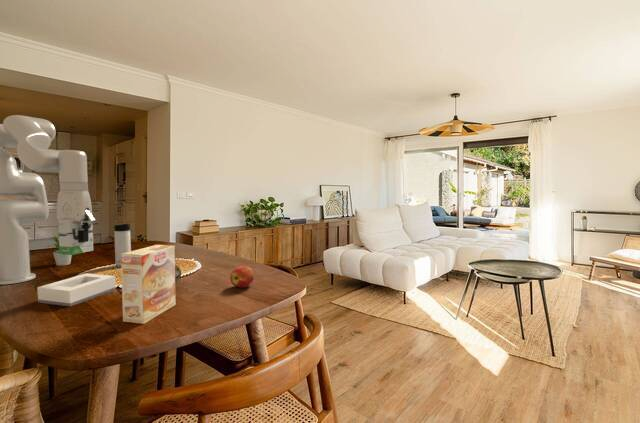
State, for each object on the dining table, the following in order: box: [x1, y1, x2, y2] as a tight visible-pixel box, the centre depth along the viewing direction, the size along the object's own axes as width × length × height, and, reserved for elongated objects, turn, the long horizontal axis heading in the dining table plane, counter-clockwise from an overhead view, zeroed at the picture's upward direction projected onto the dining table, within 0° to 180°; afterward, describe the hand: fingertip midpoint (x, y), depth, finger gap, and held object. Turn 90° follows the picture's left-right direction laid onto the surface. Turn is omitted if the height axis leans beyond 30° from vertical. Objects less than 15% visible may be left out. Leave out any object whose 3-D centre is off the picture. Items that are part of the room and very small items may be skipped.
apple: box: [229, 265, 255, 289], centre depth 123 cm, size 8×8×8 cm
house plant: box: [45, 231, 73, 267], centre depth 151 cm, size 14×14×16 cm
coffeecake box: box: [120, 244, 177, 325], centre depth 97 cm, size 15×7×20 cm, turn 170°
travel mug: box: [113, 223, 132, 268], centre depth 150 cm, size 6×7×20 cm
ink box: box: [57, 218, 94, 256], centre depth 109 cm, size 9×5×12 cm, turn 168°
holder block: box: [36, 272, 117, 307], centre depth 111 cm, size 13×17×5 cm
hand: (76, 240), depth 109 cm, fingers closed on ink box, 5 cm apart
